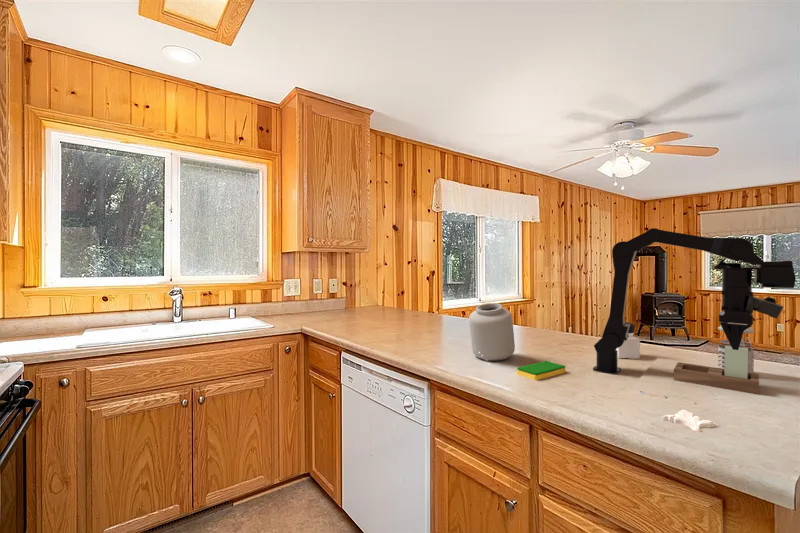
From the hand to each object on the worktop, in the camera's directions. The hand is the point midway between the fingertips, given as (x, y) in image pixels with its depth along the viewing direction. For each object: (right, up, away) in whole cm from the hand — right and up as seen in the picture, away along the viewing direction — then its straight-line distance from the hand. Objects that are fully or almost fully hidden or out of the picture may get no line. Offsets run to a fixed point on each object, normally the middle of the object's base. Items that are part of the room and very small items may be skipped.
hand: (735, 346), depth 98 cm
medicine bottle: (-9, -11, +34) cm, 37 cm away
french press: (+10, -11, +11) cm, 19 cm away
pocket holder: (-3, -11, +3) cm, 12 cm away
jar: (-56, -12, +33) cm, 66 cm away
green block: (0, -10, 0) cm, 10 cm away
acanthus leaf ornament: (-27, -13, -19) cm, 35 cm away
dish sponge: (-45, -12, +16) cm, 49 cm away
